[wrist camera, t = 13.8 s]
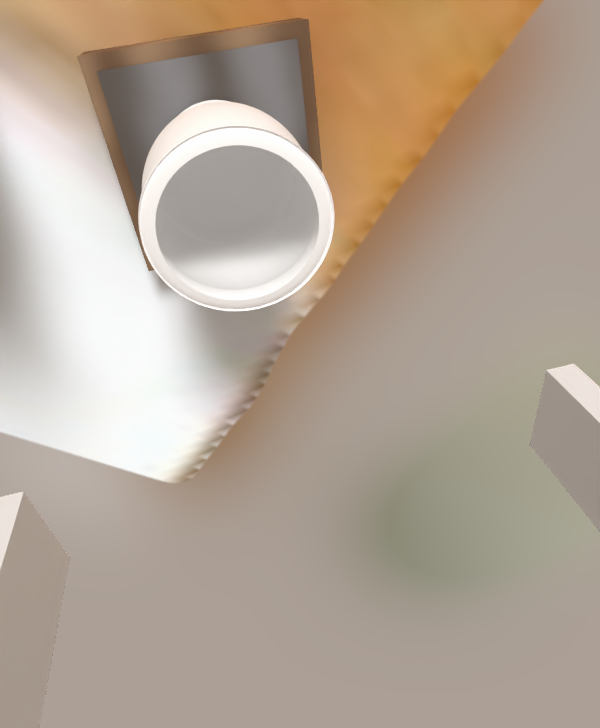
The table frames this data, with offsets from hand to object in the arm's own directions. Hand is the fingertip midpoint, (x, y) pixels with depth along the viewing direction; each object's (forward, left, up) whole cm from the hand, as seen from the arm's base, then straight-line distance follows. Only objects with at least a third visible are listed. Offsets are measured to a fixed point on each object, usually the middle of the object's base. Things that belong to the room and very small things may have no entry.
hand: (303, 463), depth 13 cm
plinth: (0, 0, -37) cm, 37 cm away
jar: (0, 0, -33) cm, 33 cm away
